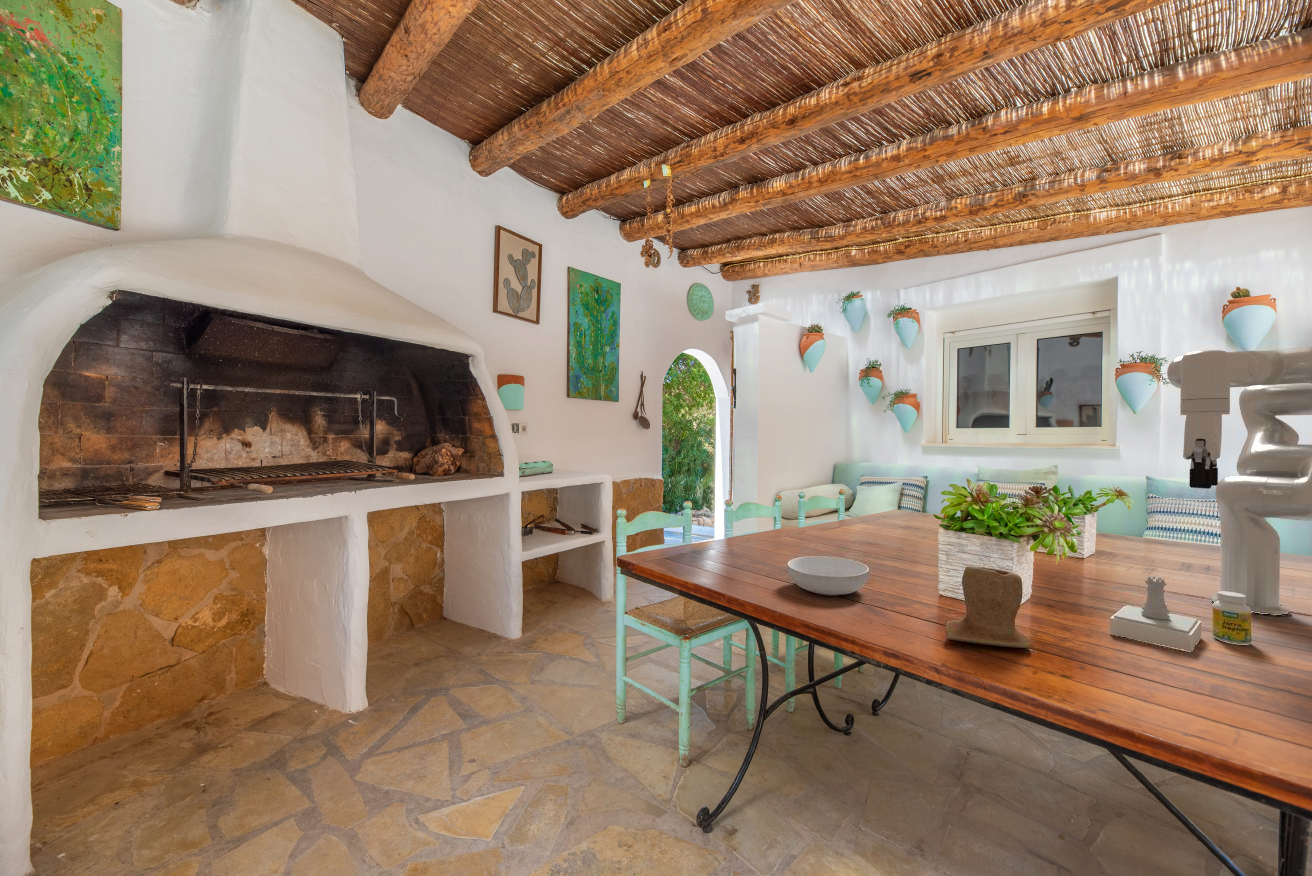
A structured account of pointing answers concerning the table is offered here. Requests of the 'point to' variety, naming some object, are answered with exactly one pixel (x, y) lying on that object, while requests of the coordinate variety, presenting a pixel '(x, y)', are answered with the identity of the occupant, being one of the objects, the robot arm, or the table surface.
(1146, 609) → the rook chess piece
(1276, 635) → the table surface
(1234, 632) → the supplement bottle
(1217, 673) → the table surface
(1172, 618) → the plinth
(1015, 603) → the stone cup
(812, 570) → the serving bowl
